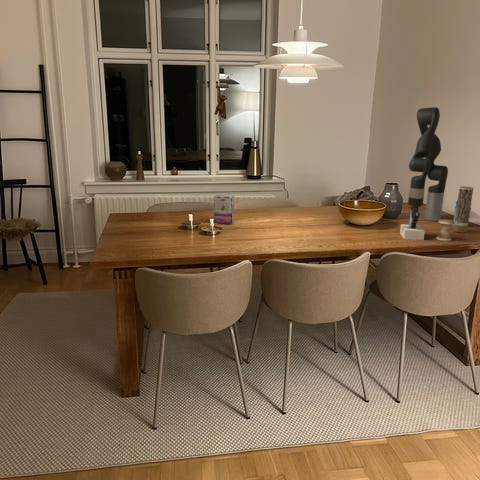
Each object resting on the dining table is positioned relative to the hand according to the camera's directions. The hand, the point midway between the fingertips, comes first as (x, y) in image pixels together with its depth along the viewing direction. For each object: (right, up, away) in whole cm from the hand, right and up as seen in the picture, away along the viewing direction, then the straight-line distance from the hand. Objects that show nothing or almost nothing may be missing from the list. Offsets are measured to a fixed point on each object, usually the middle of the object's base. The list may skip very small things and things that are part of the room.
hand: (412, 227), depth 254 cm
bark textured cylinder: (+37, +2, +24) cm, 44 cm away
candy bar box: (-102, +3, +26) cm, 105 cm away
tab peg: (0, -2, +1) cm, 2 cm away
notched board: (0, -5, +1) cm, 5 cm away
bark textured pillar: (+31, -2, +12) cm, 33 cm away
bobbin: (+16, -6, -3) cm, 17 cm away
